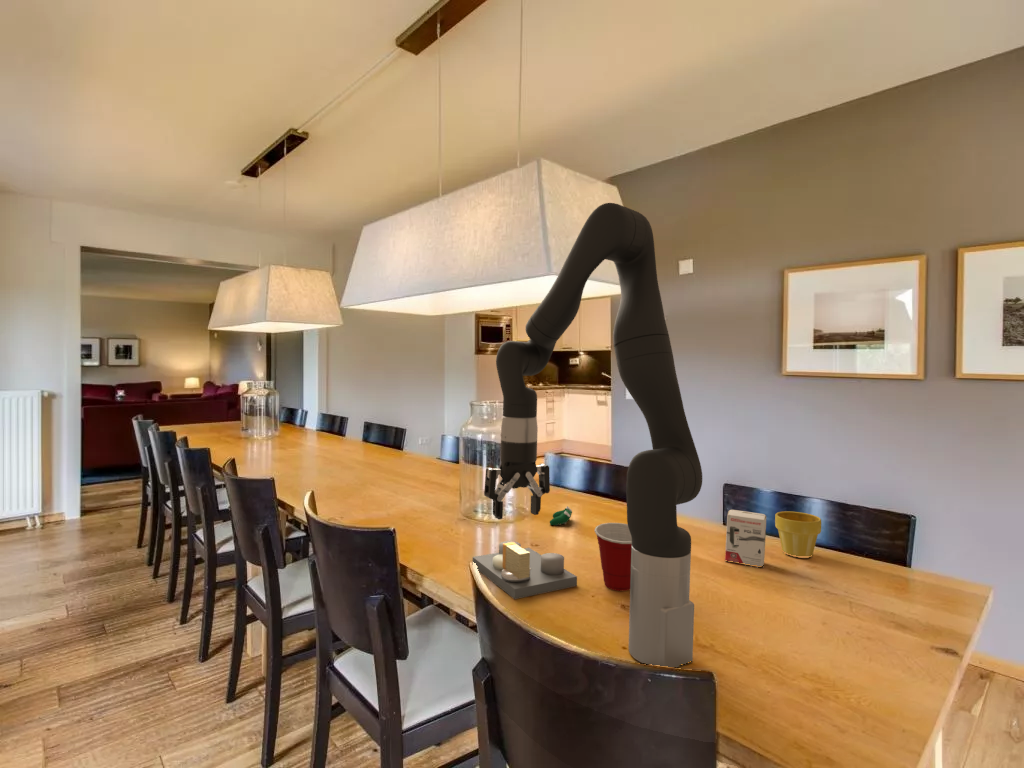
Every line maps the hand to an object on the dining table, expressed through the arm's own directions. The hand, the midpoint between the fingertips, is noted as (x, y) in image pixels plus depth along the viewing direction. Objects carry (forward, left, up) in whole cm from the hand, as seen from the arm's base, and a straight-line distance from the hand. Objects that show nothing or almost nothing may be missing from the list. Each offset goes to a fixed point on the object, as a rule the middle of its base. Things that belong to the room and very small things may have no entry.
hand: (516, 516), depth 112 cm
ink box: (-11, -57, -15) cm, 60 cm away
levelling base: (+5, -5, -15) cm, 16 cm away
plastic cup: (-9, -20, -15) cm, 27 cm away
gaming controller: (+35, -35, -15) cm, 52 cm away
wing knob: (0, 0, -13) cm, 13 cm away
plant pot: (-13, -74, -15) cm, 77 cm away
